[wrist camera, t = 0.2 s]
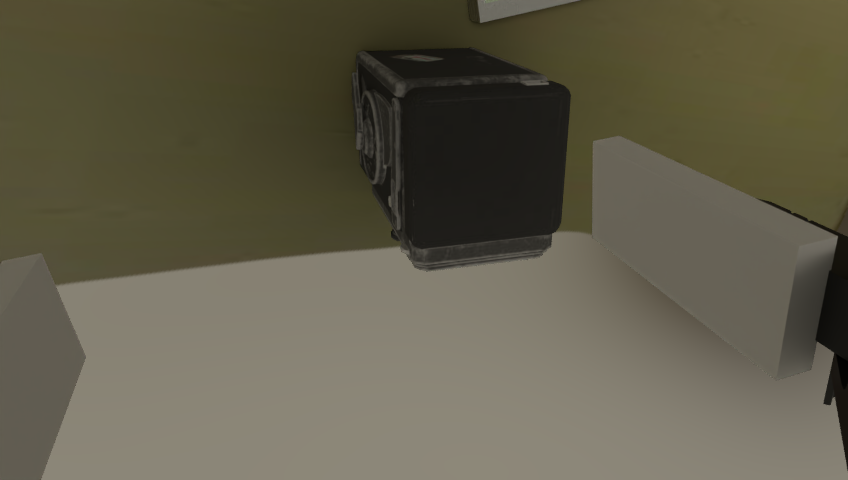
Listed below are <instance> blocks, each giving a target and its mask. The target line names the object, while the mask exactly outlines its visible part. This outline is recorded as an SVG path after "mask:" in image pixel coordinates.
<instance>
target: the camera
mask: <svg viewBox="0 0 848 480" xmlns="http://www.w3.org/2000/svg"><path fill="white" fill-rule="evenodd" d="M570 99H571V94H570V92H569V90H568V89H567V88H566V87H565V86H564V85H561V84H559V83H556V82H553V81H548V80H547V77H546V76H544V75H542V74H540V73H537V72H535V71H532V70H529V69H527V68H524V67H522V66H519V65H517V64H514V63H511V62H509V61H506V60H504V59H501V58H499V57H496V56H493V55H491V54H488V53H486V52H483V51H481V50H478V49H475V48H471V47H469V48H457V49H426V50H395V51H360V52H358V54H357V57H356V73H352V103H353V109H354V123H355V137H356V149H358V150H359V151H360V165H361V167H362V169H363V170H364V172H365V174H366V175H367V177H368V179H369V181H370V182H371V184H372V192H373V195H374V197H375V198H376V200H377V202H378V204H379V205H380V207H381V209H382V210H383V212H384V214H385V216H386V217H387V219H388V221H389V222H390V224H391V226H392V228H393V230H392V231H391V237H392V238H393V239H394V240H397V241H401V243H402V244H401V246H400V249H401V252H403V253H405V254H406V255H407V257H408V258H409V260H411V262H412V264H413V265H414V267H415V268H417V269H419V270H424V271H426V272H428V271H436V270H444V269H452V268H461V267H469V266H477V265H485V264H494V263H502V262H510V261H518V260H528V259H535V258H539V257H540V256H542V255H543V253H544V252H546V251H547V249H549V248H550V247H551V240H552V233H554V232H556V230H557V229H558V228H559V226H560V224H561V216H562V203H563V190H564V177H565V164H566V151H567V138H568V125H569V112H570Z"/></svg>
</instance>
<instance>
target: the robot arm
mask: <svg viewBox="0 0 848 480" xmlns="http://www.w3.org/2000/svg"><path fill="white" fill-rule="evenodd" d="M592 237H593V238H594V239H595V240H596V241H597V242H599V243H600V244H601V245H603V246H604V247H605V248H606V249H608V250H609V251H610V252H612V253H613V254H614V255H616V256H617V257H618V258H619V259H621V260H622V261H623V262H625V263H626V264H627V265H628V266H630V267H631V268H632V269H633V270H635V271H636V272H637V273H639V274H640V275H641V276H642V277H644V278H645V279H646V280H648V281H649V282H650V283H652V284H653V285H654V286H655V287H657V288H658V289H659V290H661V291H662V292H663V293H664V294H666V295H667V296H668V297H669V298H671V299H672V300H673V301H675V302H676V303H677V304H678V305H680V306H681V307H682V308H684V309H685V310H686V311H687V312H689V313H690V314H691V315H692V316H694V317H695V318H696V319H698V320H699V321H700V322H701V323H703V324H704V325H706V326H707V327H708V328H709V329H710V330H712V331H713V332H714V333H716V334H717V335H718V336H720V337H721V338H722V339H723V340H725V341H726V342H727V343H728V344H730V345H731V346H732V347H734V348H735V349H736V350H737V351H739V352H740V353H741V354H743V355H744V356H745V357H747V358H748V359H749V360H751V361H752V362H753V363H754V364H756V365H757V366H758V367H759V368H761V369H762V370H763V371H764V372H766V373H767V374H768V375H769V376H771V377H772V378H773V379H775V380H780V379H783V378H786V377H789V376H793V375H796V374H799V373H803V372H806V371H809V370H811V368H812V363H813V358H814V353H815V348H816V343H817V342H819V343H821V344H822V345H824V346H825V347H827V348H828V349H830V350H831V351H833V352H834V357H833V362H832V367H831V371H830V376H829V380H828V385H827V390H826V394H825V399H824V404H826V405H831V402H832V398H833V397H835V400H836V406H837V411H838V417H839V423H840V429H841V435H842V440H843V446H844V452H845V458H846V463H847V469H848V237H847V236H845V235H843V234H840V233H838V232H836V231H834V230H832V229H829V228H827V227H825V226H823V225H821V224H818V223H816V222H814V221H812V220H811V221H808V219H807V218H805V217H803V216H801V215H799V214H796V213H791V211H790V210H788V209H785V208H783V207H781V206H779V205H777V204H774V203H772V202H769V201H765V200H761V199H757V198H754V197H752V196H749V195H747V194H745V193H743V192H741V191H739V190H736V189H734V188H732V187H730V186H728V185H726V184H723V183H721V182H719V181H717V180H715V179H713V178H710V177H708V176H706V175H704V174H702V173H699V172H697V171H695V170H693V169H691V168H689V167H686V166H684V165H682V164H680V163H678V162H676V161H673V160H671V159H669V158H667V157H665V156H663V155H660V154H658V153H656V152H654V151H652V150H650V149H647V148H645V147H643V146H641V145H639V144H637V143H634V142H632V141H630V140H628V139H626V138H624V137H621V136H616V137H611V138H606V139H601V140H596V141H593V202H592ZM85 358H86V356H85V353H84V351H83V349H82V347H81V344H80V342H79V340H78V337H77V335H76V332H75V330H74V328H73V326H72V323H71V321H70V318H69V316H68V314H67V311H66V309H65V307H64V305H63V302H62V300H61V298H60V295H59V293H58V291H57V288H56V286H55V283H54V281H53V279H52V276H51V274H50V272H49V269H48V267H47V265H46V262H45V260H44V258H43V255H42V253H40V254H35V255H30V256H25V257H20V258H15V259H10V260H5V261H2V263H1V264H0V480H41V478H42V475H43V472H44V470H45V467H46V464H47V462H48V459H49V456H50V453H51V451H52V448H53V445H54V443H55V440H56V437H57V434H58V432H59V429H60V426H61V423H62V421H63V418H64V415H65V413H66V410H67V407H68V405H69V402H70V399H71V396H72V394H73V391H74V388H75V386H76V383H77V380H78V377H79V375H80V372H81V369H82V366H83V363H84V361H85Z"/></svg>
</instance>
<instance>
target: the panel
mask: <svg viewBox="0 0 848 480" xmlns="http://www.w3.org/2000/svg"><path fill="white" fill-rule="evenodd" d="M575 1H579V0H467V2H468V9H469V17H470V20H471V21H475V22H479V23H482V22H487V21H491V20H496V19H500V18H504V17H509V16H513V15H517V14H522V13H526V12H531V11H535V10H539V9H544V8H548V7H553V6H557V5H561V4H566V3H570V2H575Z"/></svg>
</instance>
